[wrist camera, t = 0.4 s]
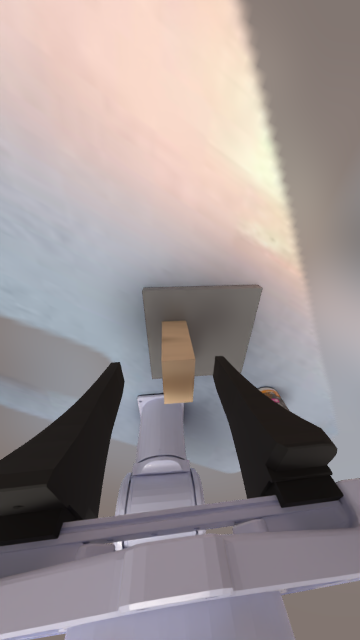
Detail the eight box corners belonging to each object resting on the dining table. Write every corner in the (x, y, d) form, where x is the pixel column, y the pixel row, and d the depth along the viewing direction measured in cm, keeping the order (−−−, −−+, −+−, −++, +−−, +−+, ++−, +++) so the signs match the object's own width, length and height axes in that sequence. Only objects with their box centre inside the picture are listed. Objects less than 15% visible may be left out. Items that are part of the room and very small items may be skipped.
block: (185, 357, 24) (192, 401, 18) (164, 358, 23) (164, 404, 17) (186, 320, 21) (195, 359, 15) (162, 321, 21) (161, 361, 14)
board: (238, 367, 27) (241, 373, 26) (152, 373, 26) (152, 379, 25) (257, 284, 21) (262, 287, 20) (143, 287, 20) (142, 291, 18)
